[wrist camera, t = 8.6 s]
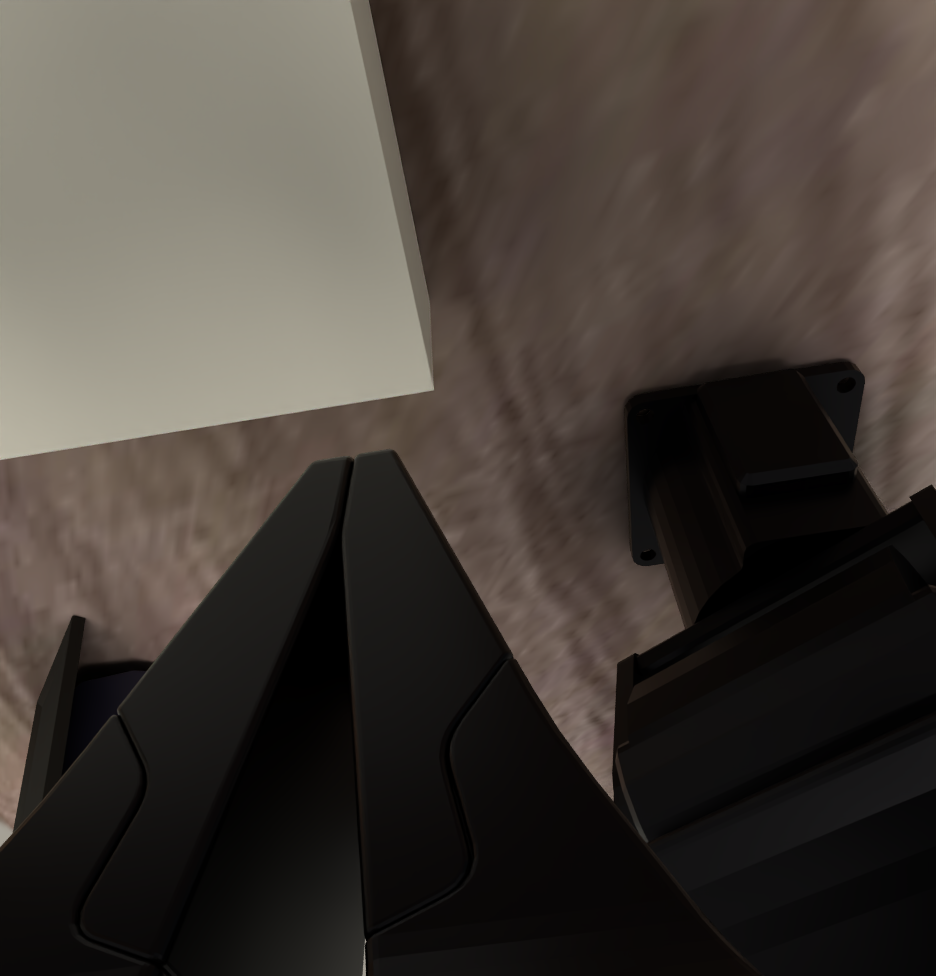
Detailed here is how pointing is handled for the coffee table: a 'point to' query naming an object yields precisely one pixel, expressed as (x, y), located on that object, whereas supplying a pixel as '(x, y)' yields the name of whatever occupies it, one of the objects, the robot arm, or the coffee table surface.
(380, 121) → the cream flat block
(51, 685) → the speaker
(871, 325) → the coffee table surface
